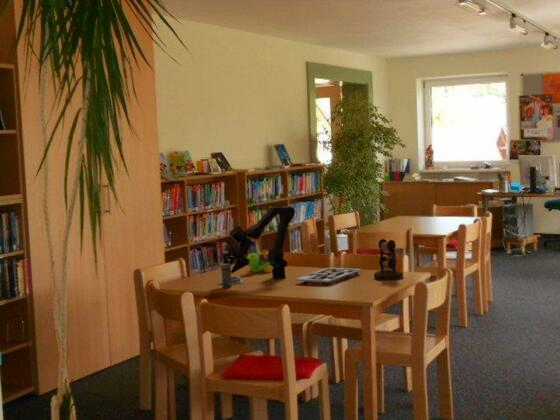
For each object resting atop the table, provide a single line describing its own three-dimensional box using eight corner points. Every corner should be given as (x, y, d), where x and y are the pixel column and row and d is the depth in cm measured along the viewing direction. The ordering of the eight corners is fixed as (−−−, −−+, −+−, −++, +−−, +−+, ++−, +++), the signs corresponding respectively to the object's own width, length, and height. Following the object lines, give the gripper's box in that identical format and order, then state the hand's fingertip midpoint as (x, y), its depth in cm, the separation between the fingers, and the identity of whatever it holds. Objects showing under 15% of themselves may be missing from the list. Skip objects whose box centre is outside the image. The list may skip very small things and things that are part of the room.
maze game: (329, 273, 432) (329, 267, 432) (361, 274, 421) (361, 269, 421) (295, 285, 403) (295, 278, 403) (328, 287, 392) (328, 280, 392)
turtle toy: (237, 273, 448) (236, 253, 447) (264, 267, 466) (263, 247, 465) (259, 275, 438) (258, 254, 437) (286, 268, 455) (285, 248, 454)
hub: (243, 279, 427) (243, 275, 427) (243, 283, 414) (243, 279, 414) (219, 281, 426) (219, 277, 426) (218, 285, 413) (218, 281, 413)
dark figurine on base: (409, 277, 402) (407, 238, 401) (386, 281, 395) (384, 242, 393) (390, 274, 415) (388, 236, 413) (368, 278, 407) (366, 240, 406)
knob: (232, 286, 409) (230, 262, 408) (232, 288, 403) (230, 264, 402) (222, 287, 408) (220, 263, 407) (222, 288, 403) (220, 265, 402)
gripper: (223, 237, 415) (206, 260, 409) (243, 239, 400) (226, 264, 394) (236, 250, 420) (220, 273, 414) (256, 253, 405) (240, 277, 399)
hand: (226, 271), depth 405 cm, fingers open, 9 cm apart
